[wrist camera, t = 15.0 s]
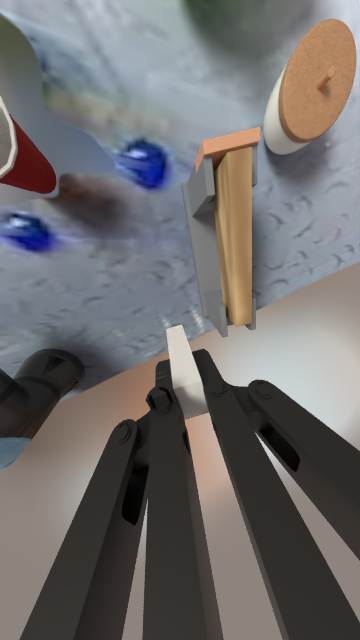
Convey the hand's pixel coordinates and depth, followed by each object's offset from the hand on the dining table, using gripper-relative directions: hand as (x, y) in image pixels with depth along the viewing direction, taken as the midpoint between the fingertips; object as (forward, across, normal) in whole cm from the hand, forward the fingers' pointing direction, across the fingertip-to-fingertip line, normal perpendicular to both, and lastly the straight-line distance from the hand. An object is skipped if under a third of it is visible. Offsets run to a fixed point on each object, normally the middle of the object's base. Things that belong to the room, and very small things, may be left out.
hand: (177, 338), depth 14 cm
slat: (+17, +13, +4) cm, 21 cm away
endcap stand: (+26, +13, +5) cm, 29 cm away
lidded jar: (+25, +30, +23) cm, 45 cm away
